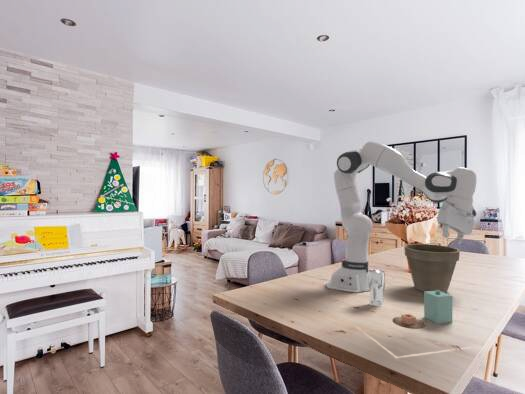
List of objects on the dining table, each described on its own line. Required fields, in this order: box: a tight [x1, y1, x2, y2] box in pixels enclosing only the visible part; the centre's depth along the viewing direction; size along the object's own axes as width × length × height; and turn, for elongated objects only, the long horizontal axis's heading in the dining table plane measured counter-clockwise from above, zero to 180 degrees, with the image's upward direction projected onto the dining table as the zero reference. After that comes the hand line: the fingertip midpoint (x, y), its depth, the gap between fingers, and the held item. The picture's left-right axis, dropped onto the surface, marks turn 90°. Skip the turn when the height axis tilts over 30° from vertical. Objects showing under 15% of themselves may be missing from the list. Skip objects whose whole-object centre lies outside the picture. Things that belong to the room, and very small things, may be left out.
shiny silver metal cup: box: [368, 268, 386, 307], centre depth 134 cm, size 7×7×15 cm
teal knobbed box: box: [423, 290, 453, 324], centre depth 116 cm, size 7×7×11 cm
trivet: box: [392, 316, 426, 330], centre depth 113 cm, size 11×11×1 cm
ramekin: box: [401, 313, 417, 325], centre depth 113 cm, size 3×3×2 cm
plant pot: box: [404, 243, 461, 293], centre depth 156 cm, size 25×25×22 cm
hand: (451, 240), depth 121 cm, fingers open, 8 cm apart
